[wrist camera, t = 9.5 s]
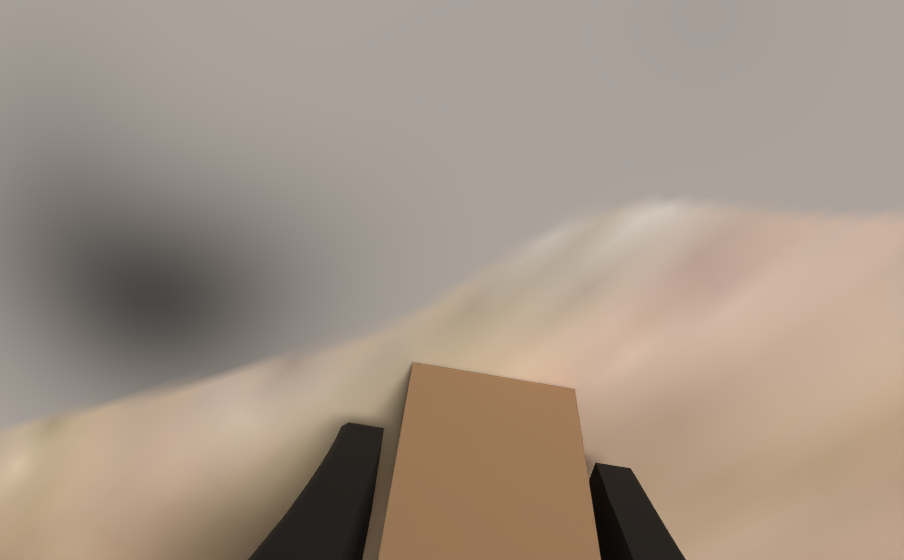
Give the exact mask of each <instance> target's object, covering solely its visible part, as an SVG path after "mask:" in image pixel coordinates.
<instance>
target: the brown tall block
mask: <svg viewBox="0 0 904 560" xmlns="http://www.w3.org/2000/svg"><path fill="white" fill-rule="evenodd" d="M378 560H601V557H600V550H599V544H598V537H597V531H596V524H595V518H594V511H593V505H592V498H591V492H590V485H589V479H588V472H587V466H586V459H585V453H584V446H583V439H582V433H581V426H580V420H579V413H578V407H577V400H576V394H575V389H570V388H564V387H558V386H552V385H546V384H540V383H534V382H528V381H522V380H516V379H510V378H504V377H498V376H492V375H486V374H480V373H474V372H468V371H462V370H456V369H450V368H444V367H438V366H432V365H426V364H420V363H414V362H413V364H412V370H411V376H410V381H409V387H408V393H407V398H406V404H405V410H404V415H403V421H402V427H401V432H400V438H399V444H398V449H397V455H396V461H395V467H394V472H393V478H392V484H391V489H390V495H389V501H388V506H387V512H386V518H385V523H384V529H383V535H382V540H381V546H380V552H379V557H378Z"/></svg>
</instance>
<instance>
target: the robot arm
mask: <svg viewBox="0 0 904 560" xmlns="http://www.w3.org/2000/svg"><path fill="white" fill-rule="evenodd" d="M383 431H384V428H379V427H373V426H366V425H360V424H354V423H347V424H345V425H344V426H342V427H341V429H340V431H339V433H338V435H337V437H336V439H335V441H334V443H333V445H332V447H331V448H330V450H329V452H328V454H327V455H326V457H325V458H324V460H323V462H322V463H321V465H320V466H319V468H318V469H317V471H316V472H315V474H314V475H313V477H312V479H311V480H310V481H309V483H308V484H307V486H306V487H305V488H304V490H303V491H302V492H301V494H300V495H299V497H298V498H297V499H296V501H295V502H294V503H293V505H292V506H291V508H290V509H289V510H288V512H287V513H286V514H285V516H284V517H283V518H282V519H281V521H280V522H279V523H278V524H277V526H276V527H275V528H274V529H273V530H272V532H271V533H270V534H269V535H268V536H267V538H266V539H265V540H264V541H263V542H262V544H261V545H260V546H259V547H258V549H257V550H256V551H255V552H254V553H253V555H252V556H251V557H250V558H249V559H248V560H362V558H363V553H364V547H365V542H366V537H367V532H368V526H369V521H370V516H371V510H372V504H373V497H374V490H375V484H376V477H377V471H378V464H379V457H380V451H381V444H382V437H383ZM589 485H590V492H591V498H592V505H593V511H594V518H595V524H596V531H597V537H598V544H599V550H600V557H601V560H686V559H685V558H684V556H683V555H682V553H681V551H680V550H679V548H678V547H677V545H676V543H675V542H674V540H673V538H672V537H671V535H670V534H669V532H668V530H667V529H666V527H665V525H664V524H663V522H662V520H661V519H660V517H659V515H658V514H657V512H656V510H655V509H654V507H653V505H652V504H651V502H650V500H649V498H648V497H647V495H646V493H645V492H644V490H643V488H642V486H641V485H640V483H639V481H638V480H637V478H636V476H635V475H634V473H633V472H632V470H631V469H630V468H625V467H619V466H613V465H606V464H600V463H595V466H594V469H593V471H592V474H591V477H590V479H589Z"/></svg>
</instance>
